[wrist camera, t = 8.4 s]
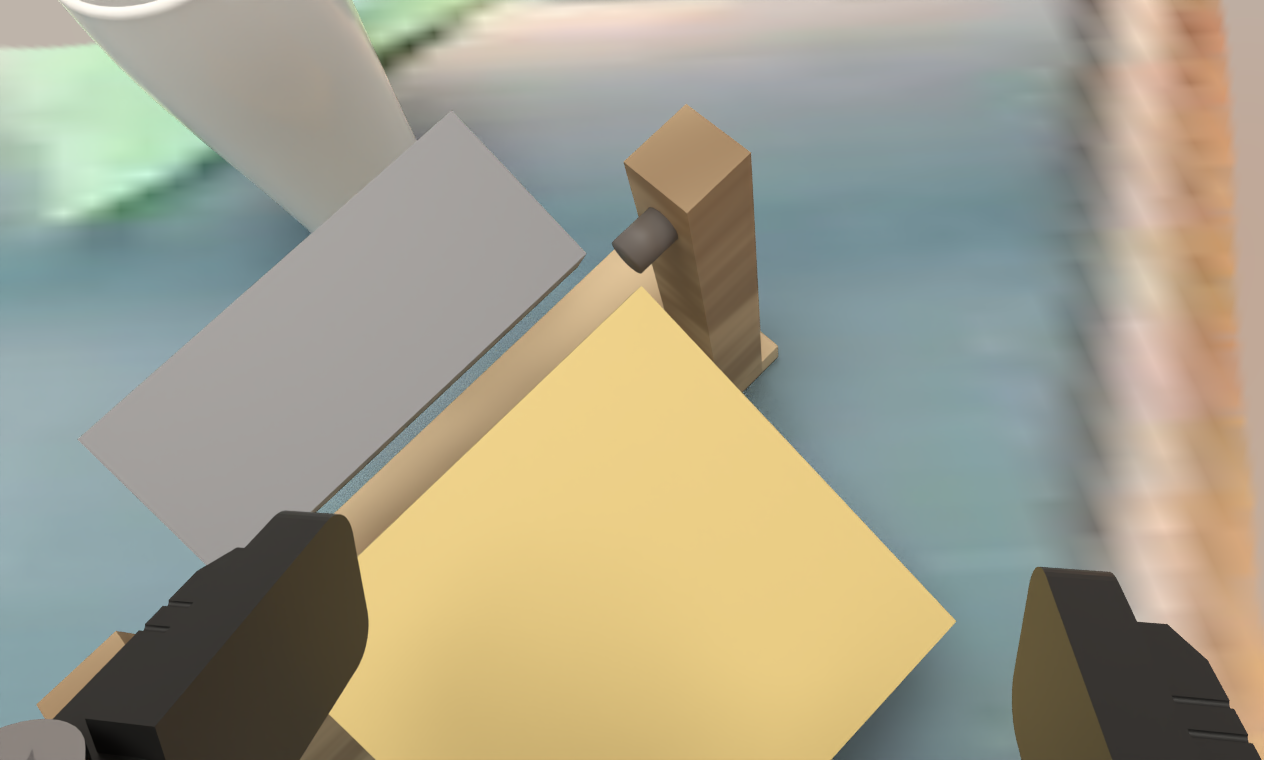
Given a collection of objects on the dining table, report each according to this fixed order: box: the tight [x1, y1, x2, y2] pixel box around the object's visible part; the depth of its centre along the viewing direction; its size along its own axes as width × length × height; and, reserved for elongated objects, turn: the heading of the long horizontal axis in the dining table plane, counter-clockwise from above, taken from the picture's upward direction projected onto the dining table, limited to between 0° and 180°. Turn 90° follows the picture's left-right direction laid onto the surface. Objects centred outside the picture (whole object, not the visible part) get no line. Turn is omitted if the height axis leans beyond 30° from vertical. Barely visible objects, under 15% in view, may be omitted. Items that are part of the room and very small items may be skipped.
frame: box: [37, 104, 778, 760], centre depth 27 cm, size 7×20×14 cm, turn 134°
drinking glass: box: [58, 0, 417, 233], centre depth 31 cm, size 7×7×15 cm
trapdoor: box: [78, 110, 956, 760], centre depth 22 cm, size 17×11×2 cm
